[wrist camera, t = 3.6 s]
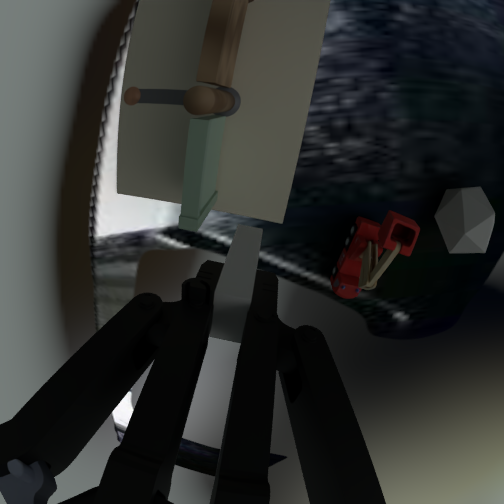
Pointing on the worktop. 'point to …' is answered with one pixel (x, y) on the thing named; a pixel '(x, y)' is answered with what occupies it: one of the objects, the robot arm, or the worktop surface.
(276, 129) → the card
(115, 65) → the worktop surface
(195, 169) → the green rectangular block
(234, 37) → the base
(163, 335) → the robot arm
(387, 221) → the toy fire truck
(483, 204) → the die
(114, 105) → the worktop surface
